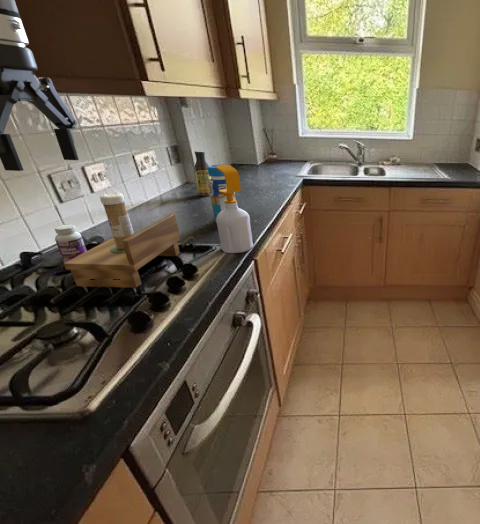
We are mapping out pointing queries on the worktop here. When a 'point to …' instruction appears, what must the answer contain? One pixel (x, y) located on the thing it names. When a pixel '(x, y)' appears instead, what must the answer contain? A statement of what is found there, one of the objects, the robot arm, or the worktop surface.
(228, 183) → the soap bottle
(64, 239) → the pill bottle
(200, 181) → the sauce bottle
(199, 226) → the worktop surface
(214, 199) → the blue canister
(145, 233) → the shelf
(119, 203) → the sprinkles bottle
